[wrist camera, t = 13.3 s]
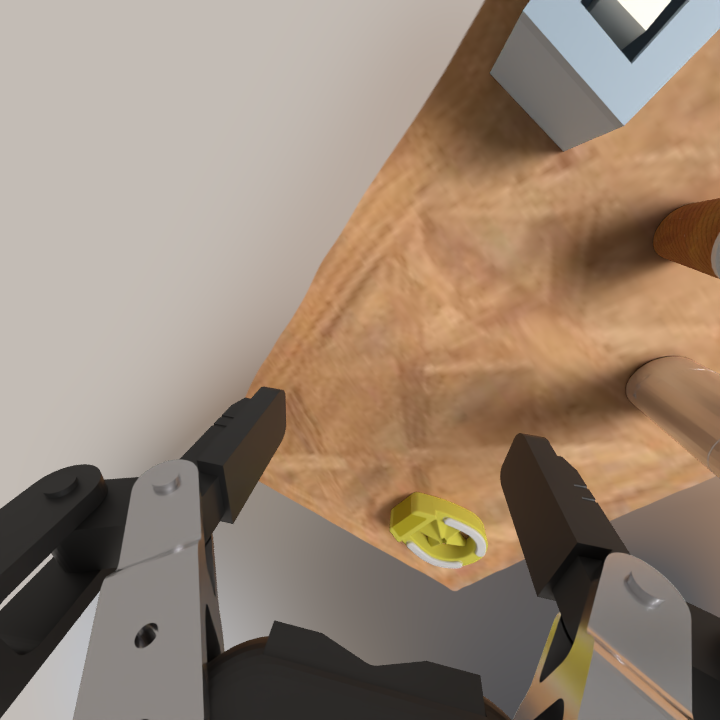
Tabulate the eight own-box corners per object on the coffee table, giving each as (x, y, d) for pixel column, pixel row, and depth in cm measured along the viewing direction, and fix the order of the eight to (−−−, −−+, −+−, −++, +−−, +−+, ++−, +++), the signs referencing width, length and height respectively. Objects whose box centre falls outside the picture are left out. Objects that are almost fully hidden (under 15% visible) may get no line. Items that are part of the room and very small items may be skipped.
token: (578, 84, 30) (645, 30, 21) (550, 57, 30) (608, -10, 21) (635, 13, 28) (739, -82, 19) (605, -18, 27) (698, -131, 18)
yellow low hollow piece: (427, 481, 61) (428, 502, 56) (500, 530, 63) (507, 553, 59) (380, 516, 68) (377, 537, 64) (448, 558, 71) (450, 581, 66)
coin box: (616, -103, 25) (741, -299, 16) (698, 5, 27) (855, -110, 18) (489, 73, 32) (523, 10, 22) (563, 151, 34) (623, 125, 24)
